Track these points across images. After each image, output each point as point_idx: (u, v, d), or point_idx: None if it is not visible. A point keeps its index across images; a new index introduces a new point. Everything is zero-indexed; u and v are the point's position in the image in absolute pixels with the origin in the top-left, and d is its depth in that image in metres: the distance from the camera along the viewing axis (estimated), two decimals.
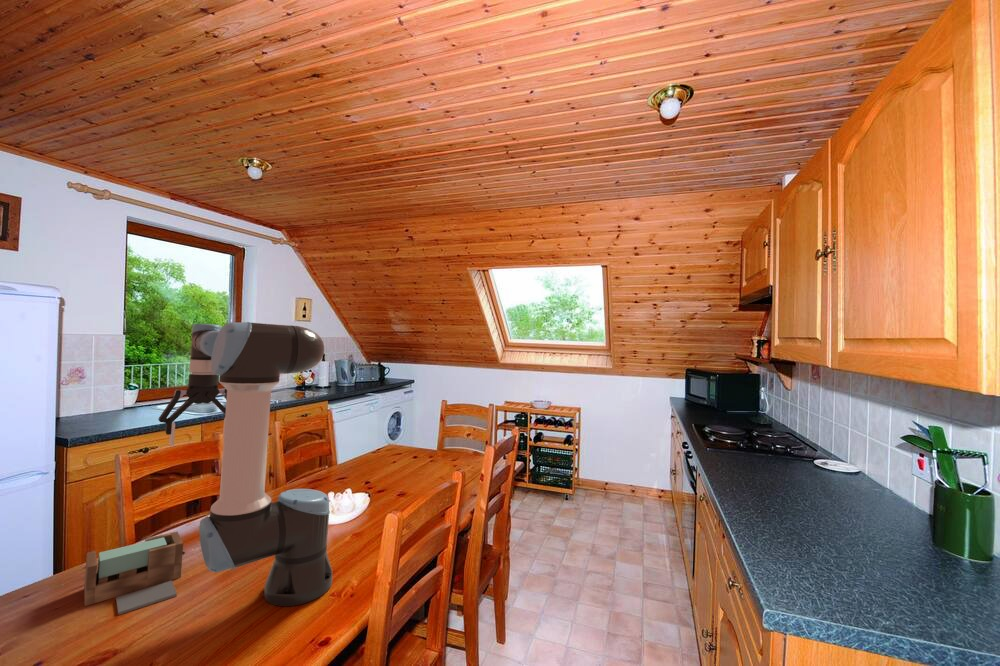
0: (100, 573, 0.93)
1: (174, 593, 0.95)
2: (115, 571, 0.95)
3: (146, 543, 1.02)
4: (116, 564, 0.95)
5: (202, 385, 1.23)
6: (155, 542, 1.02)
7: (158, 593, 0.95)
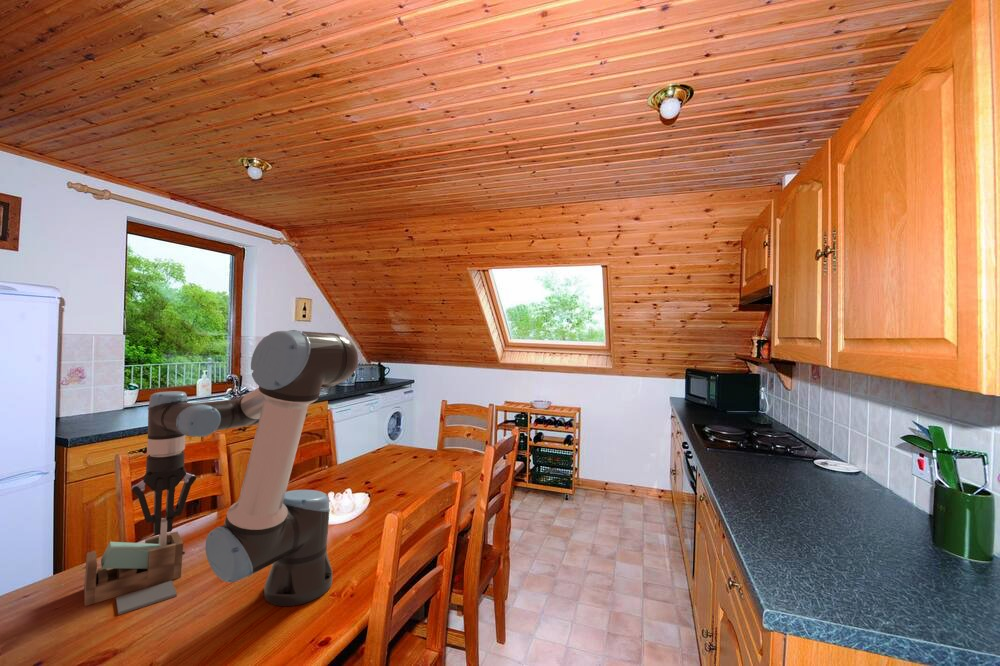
0: (105, 563, 0.94)
1: (174, 593, 0.95)
2: (118, 565, 0.95)
3: (152, 545, 1.03)
4: (122, 558, 0.96)
5: (163, 470, 1.00)
6: None
7: (158, 593, 0.95)
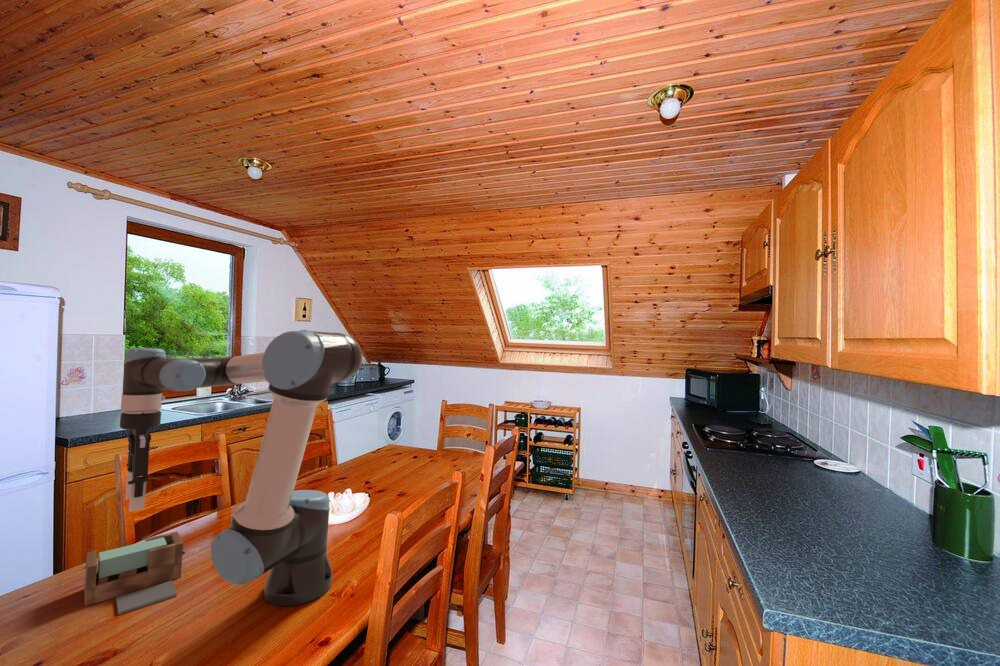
0: (100, 573, 0.93)
1: (174, 593, 0.95)
2: (115, 571, 0.95)
3: (146, 543, 1.02)
4: (116, 564, 0.95)
5: None
6: (155, 542, 1.02)
7: (158, 593, 0.95)
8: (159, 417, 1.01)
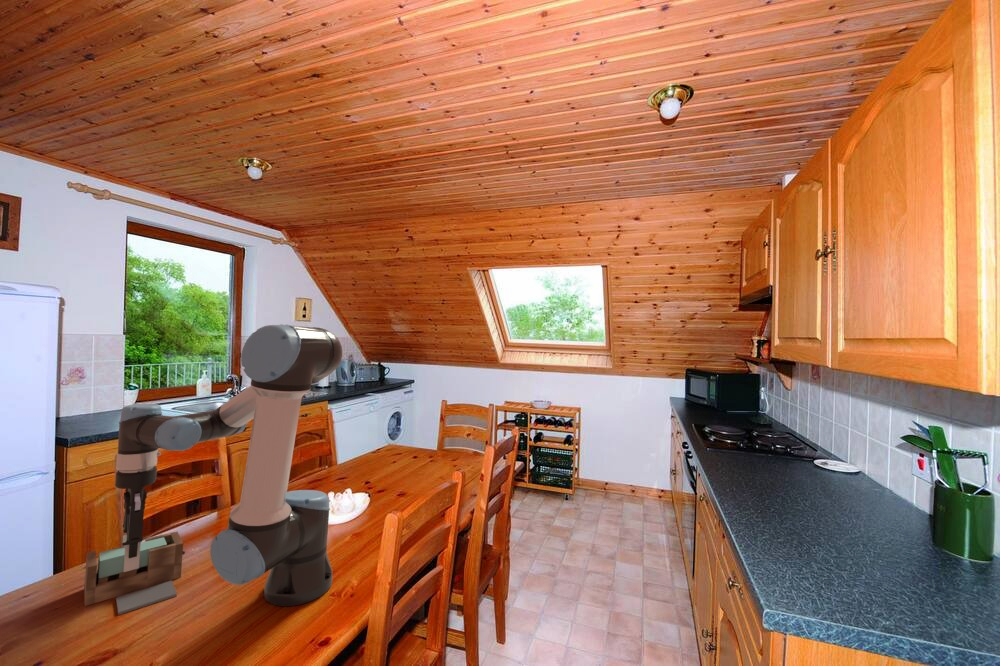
0: (100, 573, 0.93)
1: (174, 593, 0.95)
2: (115, 571, 0.95)
3: (146, 543, 1.02)
4: (116, 564, 0.95)
5: None
6: (155, 542, 1.02)
7: (158, 593, 0.95)
8: (155, 474, 1.01)
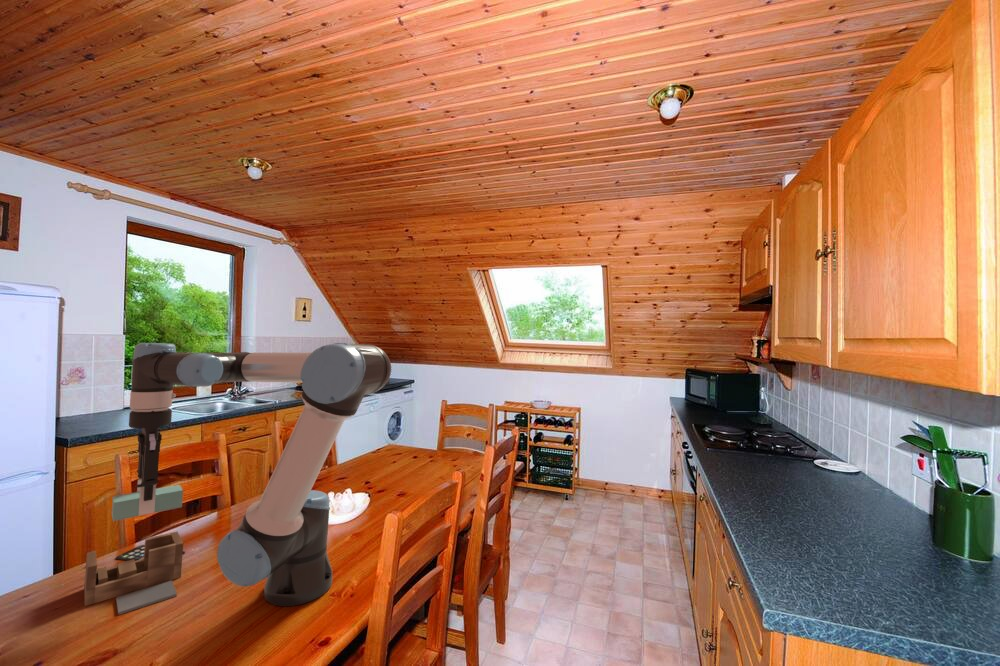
0: (114, 515, 0.89)
1: (174, 593, 0.95)
2: (130, 514, 0.90)
3: (161, 489, 0.97)
4: (131, 507, 0.90)
5: None
6: (170, 489, 0.97)
7: (158, 593, 0.95)
8: (170, 415, 0.96)
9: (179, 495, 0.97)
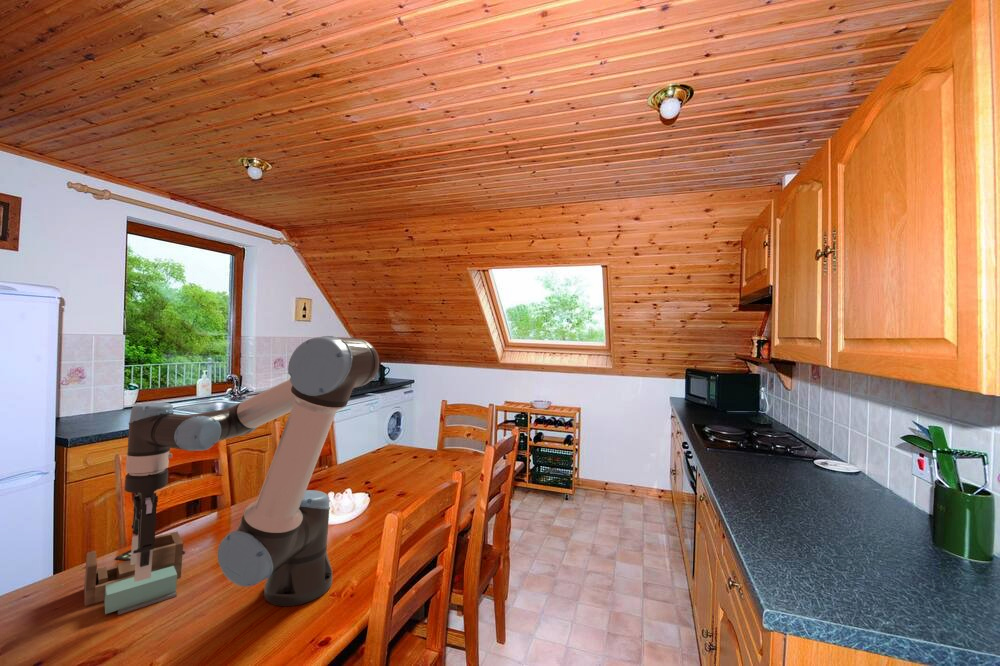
0: (107, 608, 0.87)
1: (174, 593, 0.95)
2: (123, 605, 0.89)
3: (155, 573, 0.96)
4: (124, 597, 0.89)
5: None
6: (164, 572, 0.96)
7: None
8: (166, 477, 0.95)
9: (173, 580, 0.95)
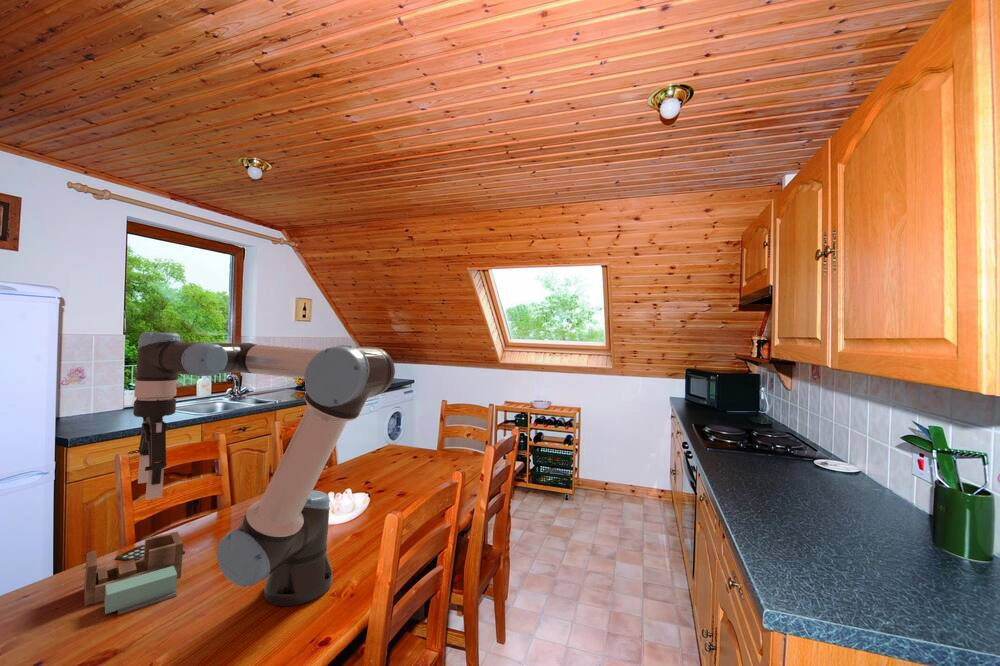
0: (107, 608, 0.87)
1: (174, 593, 0.95)
2: (123, 605, 0.89)
3: (155, 573, 0.96)
4: (124, 597, 0.89)
5: None
6: (164, 572, 0.96)
7: None
8: (174, 405, 0.96)
9: (173, 580, 0.95)
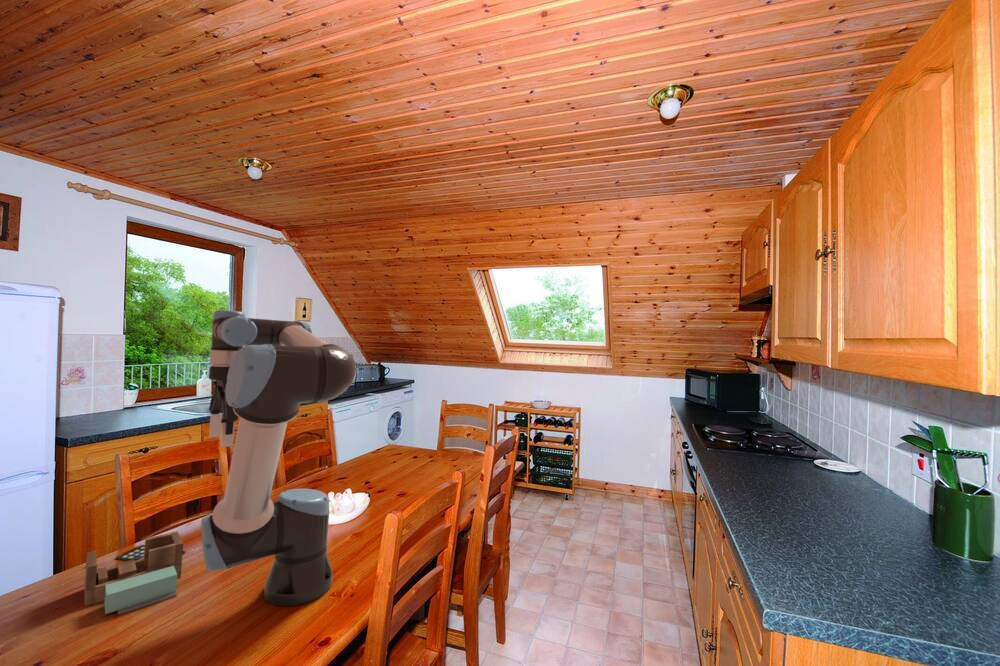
0: (107, 608, 0.87)
1: (174, 593, 0.95)
2: (123, 605, 0.89)
3: (155, 573, 0.96)
4: (124, 597, 0.89)
5: (209, 377, 1.12)
6: (164, 572, 0.96)
7: None
8: None
9: (173, 580, 0.95)
